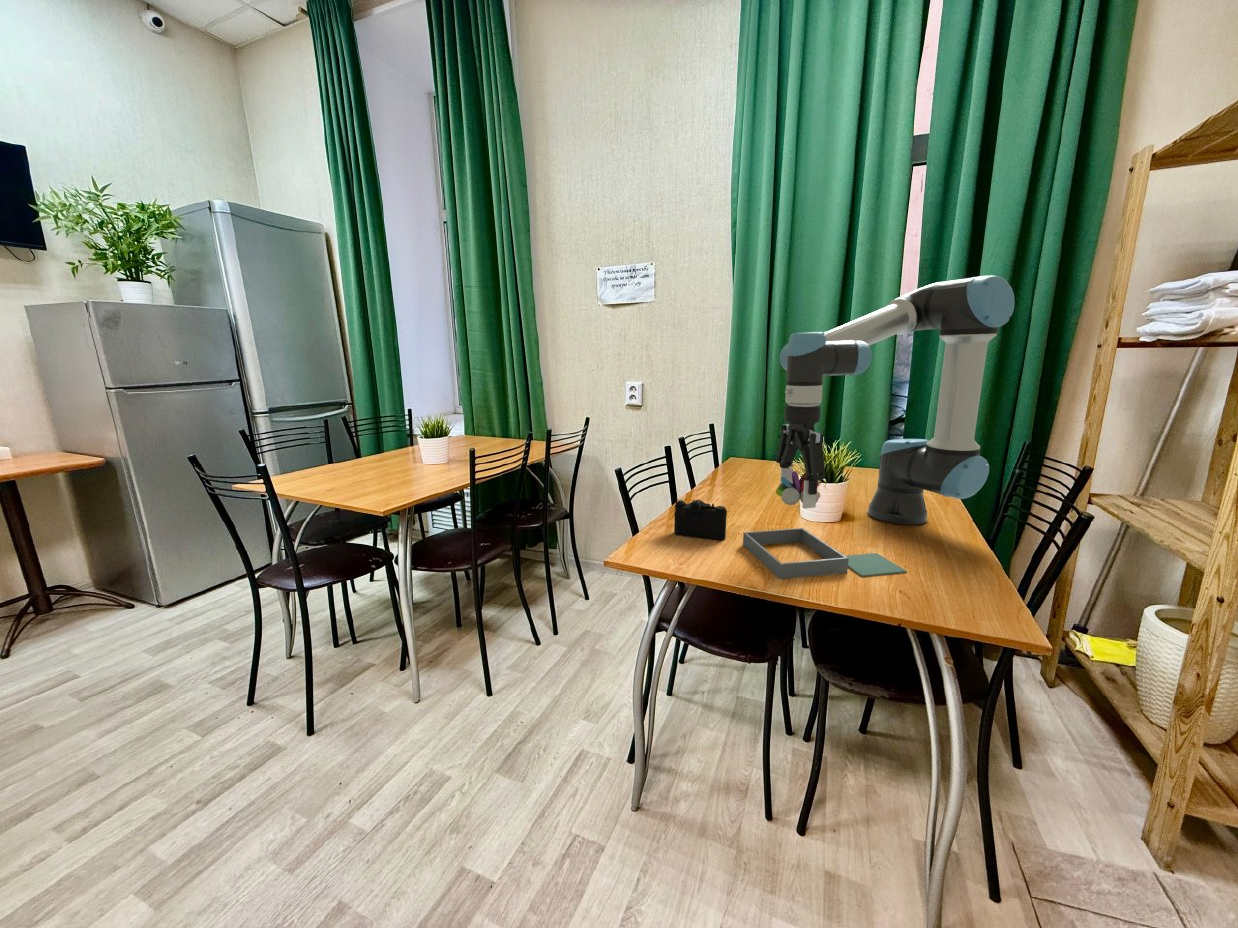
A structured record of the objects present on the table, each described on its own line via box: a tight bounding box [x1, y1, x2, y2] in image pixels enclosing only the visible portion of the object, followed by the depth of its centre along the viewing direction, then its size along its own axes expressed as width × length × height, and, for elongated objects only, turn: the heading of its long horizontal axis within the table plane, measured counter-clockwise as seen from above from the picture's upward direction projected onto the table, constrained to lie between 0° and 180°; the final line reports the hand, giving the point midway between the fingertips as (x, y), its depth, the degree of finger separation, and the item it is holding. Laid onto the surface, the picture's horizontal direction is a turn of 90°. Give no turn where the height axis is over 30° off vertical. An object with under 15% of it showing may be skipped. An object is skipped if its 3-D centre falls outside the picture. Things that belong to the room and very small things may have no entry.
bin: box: [742, 527, 849, 580], centre depth 116 cm, size 16×19×4 cm
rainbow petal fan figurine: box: [775, 470, 821, 506], centre depth 112 cm, size 8×10×7 cm
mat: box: [845, 552, 907, 578], centre depth 112 cm, size 11×10×1 cm
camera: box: [673, 499, 728, 542], centre depth 132 cm, size 14×11×10 cm
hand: (796, 500), depth 113 cm, fingers closed on rainbow petal fan figurine, 10 cm apart
